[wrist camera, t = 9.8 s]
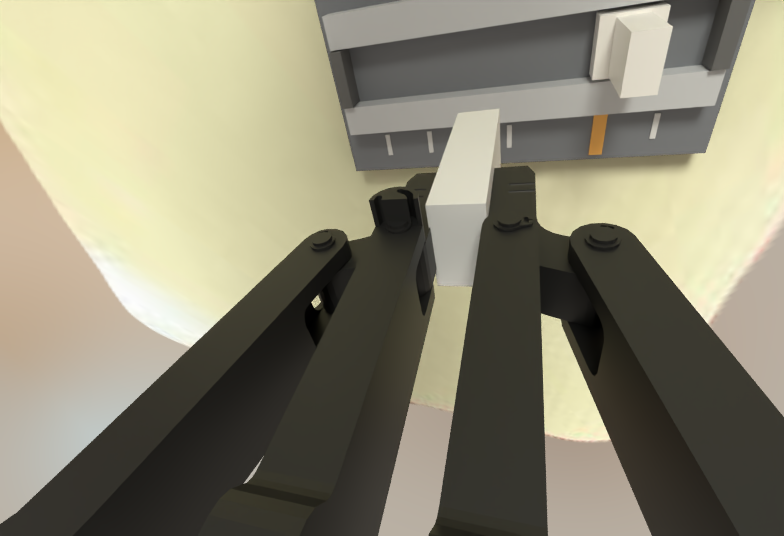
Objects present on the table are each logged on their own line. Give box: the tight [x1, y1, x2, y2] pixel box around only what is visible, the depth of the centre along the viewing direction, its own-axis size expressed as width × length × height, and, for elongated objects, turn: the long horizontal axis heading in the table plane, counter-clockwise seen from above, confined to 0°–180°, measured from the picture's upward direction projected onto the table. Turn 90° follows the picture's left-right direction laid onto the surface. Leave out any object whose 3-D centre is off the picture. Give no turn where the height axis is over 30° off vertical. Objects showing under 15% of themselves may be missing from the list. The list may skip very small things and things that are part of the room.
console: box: [315, 0, 755, 171], centre depth 31 cm, size 18×30×4 cm, turn 100°
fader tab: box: [589, 1, 673, 98], centre depth 26 cm, size 4×4×7 cm
